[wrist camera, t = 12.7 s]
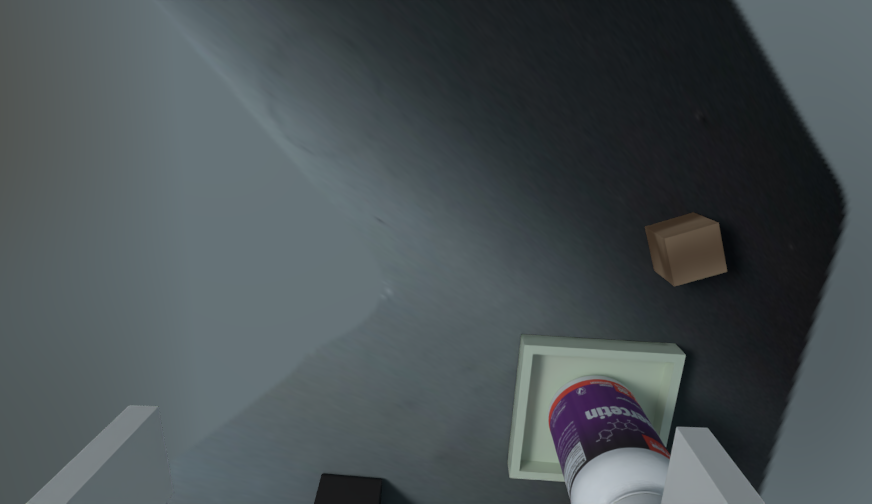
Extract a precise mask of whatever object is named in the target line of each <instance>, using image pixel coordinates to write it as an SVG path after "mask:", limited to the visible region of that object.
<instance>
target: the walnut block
mask: <svg viewBox="0 0 872 504" xmlns="http://www.w3.org/2000/svg"><path fill="white" fill-rule="evenodd" d="M645 230H646V235H647V239H648V244H649V248H650V253H651V258H652V262H653V267H654V271H656V272H657V273H658V274H659V275H661V276H662V277H663V278H664V279H666V280H667V281H668V282H669V283H671V284H672V285H673V286H678V285H682V284H685V283H689V282H692V281H696V280H699V279H703V278H707V277H710V276H714V275H717V274H721V273H724V272H727V267H726V262H725V256H724V250H723V244H722V239H721V233H720V227H719V223H718V222H715V221H713V220H711V219H708V218H706V217H703V216H701V215H699V214H696V213H694V212H693V213H690V214H687V215H683V216H680V217H676V218H673V219H670V220H666V221H663V222H659V223H656V224H653V225H649V226H646V227H645Z"/></svg>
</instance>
